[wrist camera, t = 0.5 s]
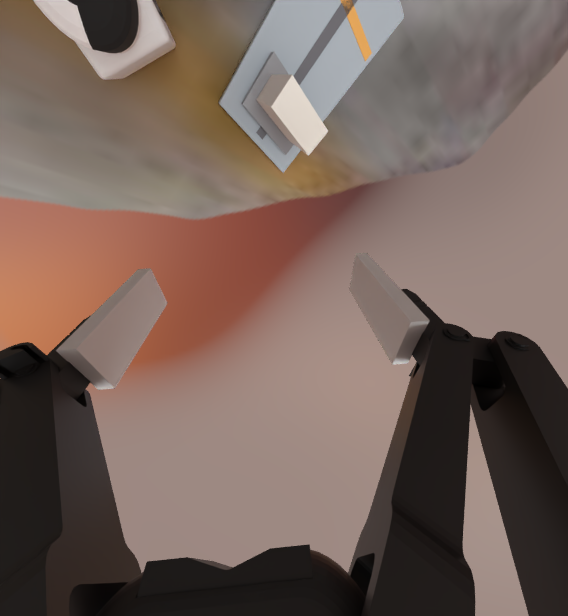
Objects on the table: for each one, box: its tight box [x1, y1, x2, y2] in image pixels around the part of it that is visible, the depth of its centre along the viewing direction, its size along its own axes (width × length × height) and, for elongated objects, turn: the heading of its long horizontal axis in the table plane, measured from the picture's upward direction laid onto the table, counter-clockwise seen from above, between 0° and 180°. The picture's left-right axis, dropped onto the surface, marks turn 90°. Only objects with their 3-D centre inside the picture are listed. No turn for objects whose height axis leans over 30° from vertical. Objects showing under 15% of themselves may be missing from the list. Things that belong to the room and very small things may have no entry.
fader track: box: [218, 0, 404, 172], centre depth 27 cm, size 12×22×2 cm, turn 136°
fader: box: [242, 52, 328, 156], centre depth 25 cm, size 8×6×10 cm
